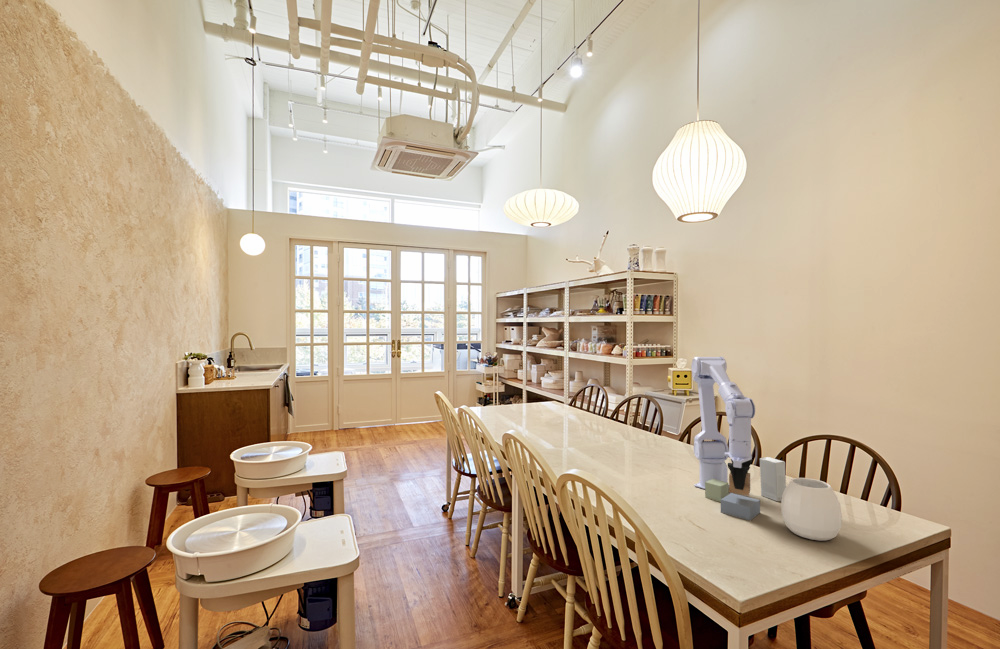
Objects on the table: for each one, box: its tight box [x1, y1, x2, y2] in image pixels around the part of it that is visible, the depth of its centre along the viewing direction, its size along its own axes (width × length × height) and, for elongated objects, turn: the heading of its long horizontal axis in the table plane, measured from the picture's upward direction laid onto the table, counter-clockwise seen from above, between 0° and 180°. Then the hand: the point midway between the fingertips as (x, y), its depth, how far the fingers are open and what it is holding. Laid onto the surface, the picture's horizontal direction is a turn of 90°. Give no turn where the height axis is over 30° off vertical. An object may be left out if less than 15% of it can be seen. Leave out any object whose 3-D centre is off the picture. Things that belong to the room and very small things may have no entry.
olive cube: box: [704, 479, 729, 503], centre depth 147 cm, size 5×5×5 cm
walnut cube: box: [728, 472, 751, 496], centre depth 136 cm, size 5×5×5 cm
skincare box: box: [759, 456, 787, 502], centre depth 147 cm, size 6×4×12 cm
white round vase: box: [780, 477, 843, 542], centre depth 122 cm, size 13×13×14 cm
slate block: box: [720, 492, 761, 521], centre depth 136 cm, size 8×8×4 cm
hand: (740, 486), depth 136 cm, fingers closed on walnut cube, 5 cm apart
